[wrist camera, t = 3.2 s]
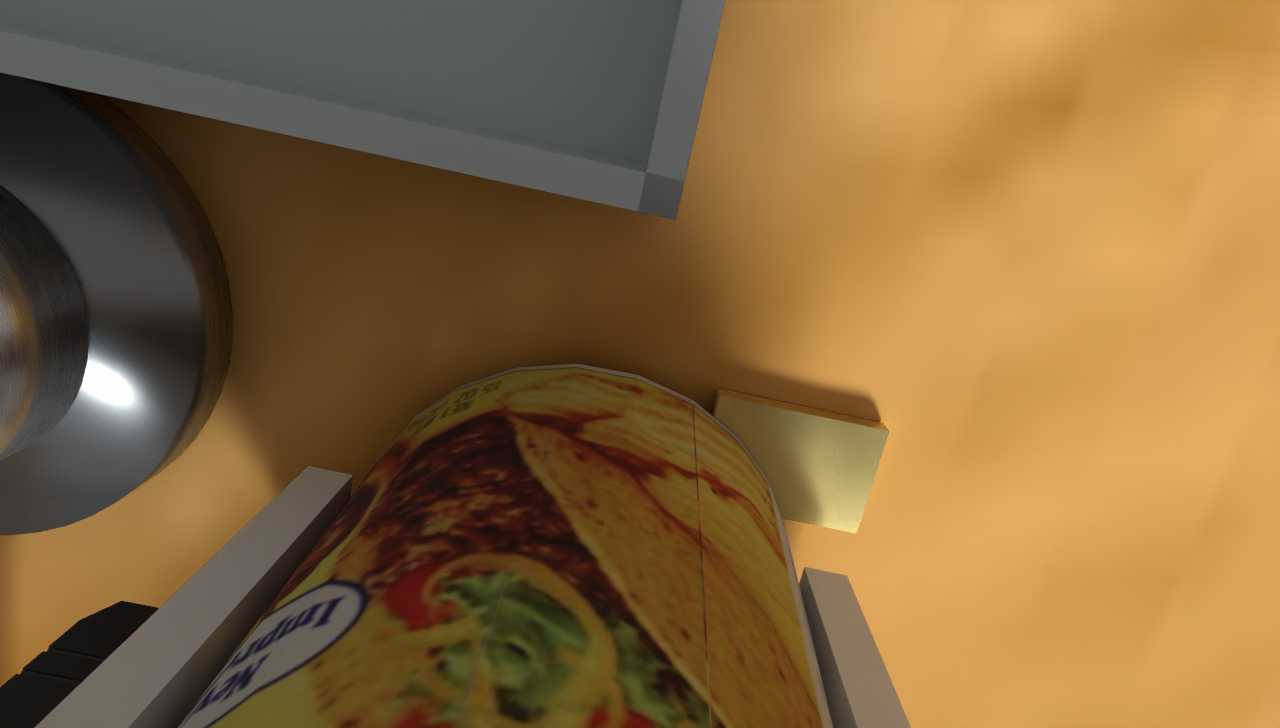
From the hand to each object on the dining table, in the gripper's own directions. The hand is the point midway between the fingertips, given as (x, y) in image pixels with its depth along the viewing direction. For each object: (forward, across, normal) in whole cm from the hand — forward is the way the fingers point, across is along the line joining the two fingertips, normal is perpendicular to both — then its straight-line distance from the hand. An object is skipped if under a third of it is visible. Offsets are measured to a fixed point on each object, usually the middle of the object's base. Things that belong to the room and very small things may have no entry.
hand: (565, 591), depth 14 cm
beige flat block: (+1, +3, +3) cm, 5 cm away
